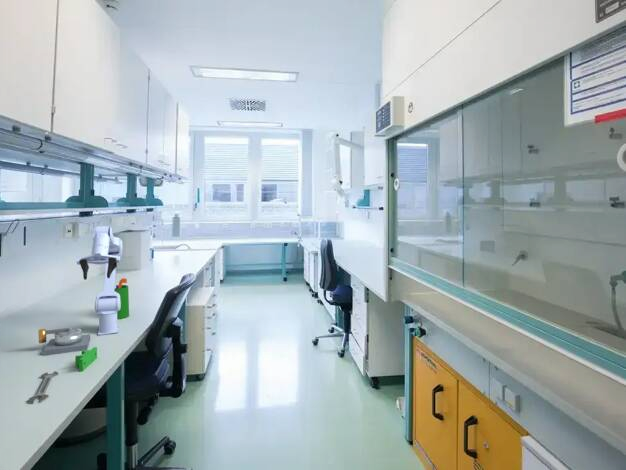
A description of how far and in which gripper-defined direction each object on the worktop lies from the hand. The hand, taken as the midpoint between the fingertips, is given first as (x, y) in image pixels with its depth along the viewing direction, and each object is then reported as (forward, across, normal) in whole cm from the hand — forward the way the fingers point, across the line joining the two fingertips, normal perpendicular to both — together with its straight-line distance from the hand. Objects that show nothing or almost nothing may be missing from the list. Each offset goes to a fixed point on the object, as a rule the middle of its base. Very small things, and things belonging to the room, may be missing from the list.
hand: (96, 277), depth 134 cm
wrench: (+37, -12, +7) cm, 40 cm away
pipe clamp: (+27, -3, +17) cm, 32 cm away
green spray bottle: (-15, +1, +58) cm, 60 cm away
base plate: (+12, -13, +31) cm, 36 cm away
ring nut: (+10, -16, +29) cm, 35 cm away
